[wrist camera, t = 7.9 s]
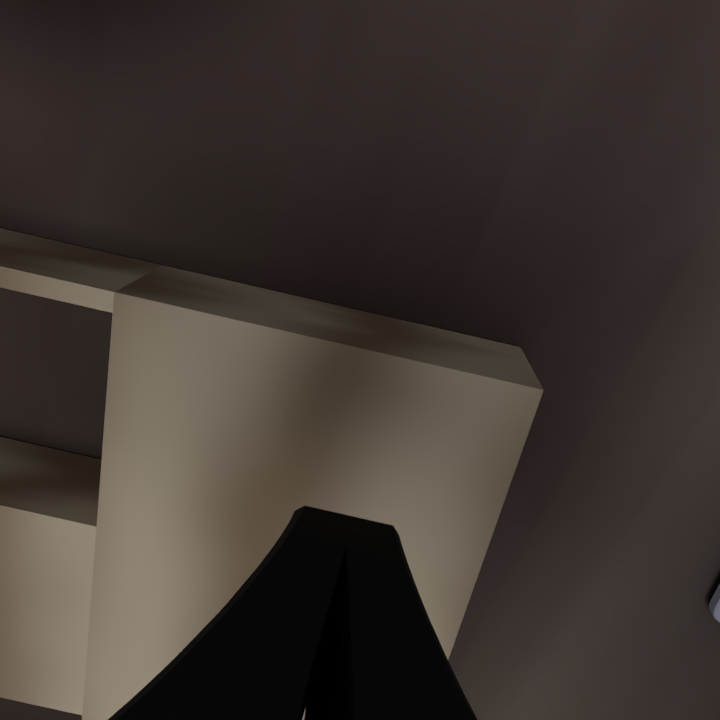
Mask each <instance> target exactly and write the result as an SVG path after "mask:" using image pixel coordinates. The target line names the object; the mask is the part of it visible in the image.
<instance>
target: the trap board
mask: <svg viewBox="0 0 720 720" xmlns="http://www.w3.org/2000/svg"><path fill="white" fill-rule="evenodd" d="M0 287H1V288H6V289H10V290H15V291H19V292H23V293H28V294H32V295H36V296H41V297H45V298H50V299H54V300H58V301H63V302H67V303H72V304H76V305H80V306H85V307H89V308H94V309H98V310H102V311H107V312H111V313H113V315H112V328H111V342H110V355H109V368H108V381H107V395H106V408H105V421H104V434H103V447H102V460H101V459H97V458H93V457H88V456H84V455H79V454H75V453H70V452H66V451H61V450H57V449H52V448H48V447H44V446H39V445H35V444H30V443H26V442H21V441H17V440H12V439H8V438H4V437H0V697H1V698H6V699H10V700H15V701H19V702H24V703H29V704H33V705H38V706H42V707H47V708H51V709H56V710H60V711H65V712H70V713H74V714H79V715H82V720H108V719H109V718H110V717H111V716H113V715H114V714H115V713H116V712H117V711H118V710H119V709H120V708H122V707H123V706H124V705H125V704H126V703H127V702H128V701H130V700H131V699H132V698H133V697H134V696H135V695H136V694H137V693H138V692H139V691H141V690H142V689H143V688H144V687H145V686H146V685H147V684H148V683H149V682H150V681H151V680H152V679H153V678H154V677H156V676H157V675H158V674H159V673H160V672H161V671H162V670H163V669H164V668H165V667H166V666H167V665H168V664H169V663H170V662H171V661H172V660H173V659H174V658H175V657H176V656H177V655H178V654H179V653H180V652H181V651H182V650H183V649H184V648H185V647H186V646H187V645H188V644H189V643H190V642H191V641H192V640H193V639H194V638H195V637H196V636H197V634H198V633H199V632H200V631H201V630H202V629H203V628H204V627H205V626H206V625H207V624H208V623H209V622H210V621H211V620H212V619H213V618H214V617H215V616H216V615H217V614H218V613H219V612H220V611H221V609H222V608H223V607H224V606H225V605H226V604H227V603H228V602H229V600H230V599H231V598H232V597H233V596H234V594H235V593H236V592H237V591H238V590H239V589H240V587H241V586H242V585H243V584H244V583H245V581H246V580H247V579H248V578H249V577H250V575H251V574H252V573H253V572H254V571H255V570H256V568H257V567H258V566H259V565H260V563H261V562H262V561H263V559H264V558H265V557H266V555H267V554H268V553H269V551H270V550H271V549H272V547H273V546H274V545H275V543H276V542H277V540H278V539H279V537H280V536H281V534H282V533H283V531H284V530H285V528H286V526H287V525H288V523H289V521H290V520H291V518H292V515H293V513H294V511H295V510H297V509H299V508H301V507H303V506H309V507H313V508H318V509H322V510H327V511H331V512H336V513H340V514H345V515H349V516H353V517H358V518H362V519H367V520H371V521H376V522H380V523H385V524H389V525H393V526H394V528H395V529H396V531H397V532H398V534H399V537H400V540H401V544H402V547H403V550H404V553H405V556H406V559H407V562H408V565H409V568H410V571H411V573H412V576H413V579H414V581H415V584H416V587H417V589H418V592H419V594H420V597H421V600H422V602H423V605H424V607H425V609H426V612H427V614H428V617H429V619H430V621H431V624H432V626H433V628H434V630H435V633H436V635H437V637H438V639H439V642H440V644H441V646H442V648H443V651H444V653H445V655H446V657H447V659H449V656H450V653H451V650H452V648H453V645H454V642H455V639H456V636H457V634H458V631H459V628H460V625H461V622H462V619H463V617H464V614H465V611H466V608H467V605H468V602H469V600H470V597H471V594H472V591H473V588H474V586H475V583H476V580H477V577H478V574H479V571H480V569H481V566H482V563H483V560H484V557H485V554H486V552H487V549H488V546H489V543H490V540H491V537H492V535H493V532H494V529H495V526H496V523H497V521H498V518H499V515H500V512H501V509H502V506H503V504H504V501H505V498H506V495H507V492H508V489H509V487H510V484H511V481H512V478H513V475H514V473H515V470H516V467H517V464H518V461H519V458H520V456H521V453H522V450H523V447H524V444H525V441H526V439H527V436H528V433H529V430H530V427H531V424H532V422H533V419H534V416H535V413H536V410H537V408H538V405H539V402H540V399H541V396H542V393H543V391H544V390H543V388H542V386H541V384H540V382H539V380H538V379H537V377H536V375H535V373H534V371H533V369H532V367H531V366H530V364H529V362H528V360H527V358H526V356H525V354H524V353H523V351H522V349H521V347H518V346H513V345H509V344H505V343H500V342H496V341H492V340H487V339H483V338H479V337H474V336H470V335H465V334H461V333H457V332H452V331H448V330H444V329H439V328H435V327H430V326H426V325H422V324H417V323H413V322H409V321H404V320H400V319H395V318H391V317H387V316H382V315H378V314H374V313H369V312H365V311H361V310H356V309H352V308H347V307H343V306H339V305H334V304H330V303H326V302H321V301H317V300H312V299H308V298H304V297H299V296H295V295H291V294H286V293H282V292H277V291H273V290H269V289H264V288H260V287H256V286H251V285H247V284H243V283H238V282H234V281H229V280H225V279H221V278H216V277H212V276H208V275H203V274H199V273H194V272H190V271H186V270H181V269H177V268H173V267H168V266H164V265H159V264H155V263H151V262H146V261H142V260H138V259H133V258H129V257H125V256H120V255H116V254H111V253H107V252H103V251H98V250H94V249H90V248H85V247H81V246H76V245H72V244H68V243H63V242H59V241H55V240H50V239H46V238H41V237H37V236H33V235H28V234H24V233H20V232H15V231H11V230H7V229H2V228H0ZM305 708H306V707H305ZM304 718H305V711H304V715H303V718H302V720H304Z"/></svg>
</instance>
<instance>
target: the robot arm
mask: <svg viewBox="0 0 720 720" xmlns="http://www.w3.org/2000/svg"><path fill="white" fill-rule="evenodd" d="M709 609H710V612H711V613H712V615H713V616H714V618H715V619H716V620H717V621H718V622H719V623H720V584H719V586H718V588H717V589H716V591H715V593H714V595H713V597H712V599H711V601H710V604H709ZM305 707H306V708H305ZM304 711H305V718H304V720H477V718H476V716H475V714H474V712H473V710H472V708H471V707H470V705H469V703H468V701H467V699H466V697H465V695H464V693H463V691H462V689H461V687H460V685H459V683H458V681H457V679H456V676H455V674H454V672H453V670H452V668H451V666H450V664H449V662H448V659H447V657H446V655H445V653H444V651H443V648H442V646H441V644H440V642H439V639H438V637H437V635H436V633H435V630H434V628H433V626H432V624H431V621H430V619H429V617H428V614H427V612H426V609H425V607H424V605H423V602H422V600H421V597H420V594H419V592H418V589H417V587H416V584H415V581H414V579H413V576H412V573H411V571H410V568H409V565H408V562H407V559H406V556H405V553H404V550H403V547H402V544H401V540H400V537H399V534H398V532H397V531H396V529H395V528H394V526H393V525H389V524H385V523H380V522H376V521H371V520H367V519H362V518H358V517H353V516H349V515H345V514H340V513H336V512H331V511H327V510H322V509H318V508H313V507H309V506H303V507H301V508H299V509H297V510H295V511H294V513H293V515H292V518H291V520H290V521H289V523H288V525H287V526H286V528H285V530H284V531H283V533H282V534H281V536H280V537H279V539H278V540H277V542H276V543H275V545H274V546H273V547H272V549H271V550H270V551H269V553H268V554H267V555H266V557H265V558H264V559H263V561H262V562H261V563H260V565H259V566H258V567H257V568H256V570H255V571H254V572H253V573H252V574H251V575H250V577H249V578H248V579H247V580H246V581H245V583H244V584H243V585H242V586H241V587H240V589H239V590H238V591H237V592H236V593H235V594H234V596H233V597H232V598H231V599H230V600H229V602H228V603H227V604H226V605H225V606H224V607H223V608H222V609H221V611H220V612H219V613H218V614H217V615H216V616H215V617H214V618H213V619H212V620H211V621H210V622H209V623H208V624H207V625H206V626H205V627H204V628H203V629H202V630H201V631H200V632H199V633H198V634H197V636H196V637H195V638H194V639H193V640H192V641H191V642H190V643H189V644H188V645H187V646H186V647H185V648H184V649H183V650H182V651H181V652H180V653H179V654H178V655H177V656H176V657H175V658H174V659H173V660H172V661H171V662H170V663H169V664H168V665H167V666H166V667H165V668H164V669H163V670H162V671H161V672H160V673H159V674H158V675H157V676H156V677H154V678H153V679H152V680H151V681H150V682H149V683H148V684H147V685H146V686H145V687H144V688H143V689H142V690H141V691H139V692H138V693H137V694H136V695H135V696H134V697H133V698H132V699H131V700H130V701H128V702H127V703H126V704H125V705H124V706H123V707H122V708H120V709H119V710H118V711H117V712H116V713H115V714H114V715H113V716H111V717H110V718H109V719H108V720H302V718H303V715H304Z"/></svg>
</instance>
